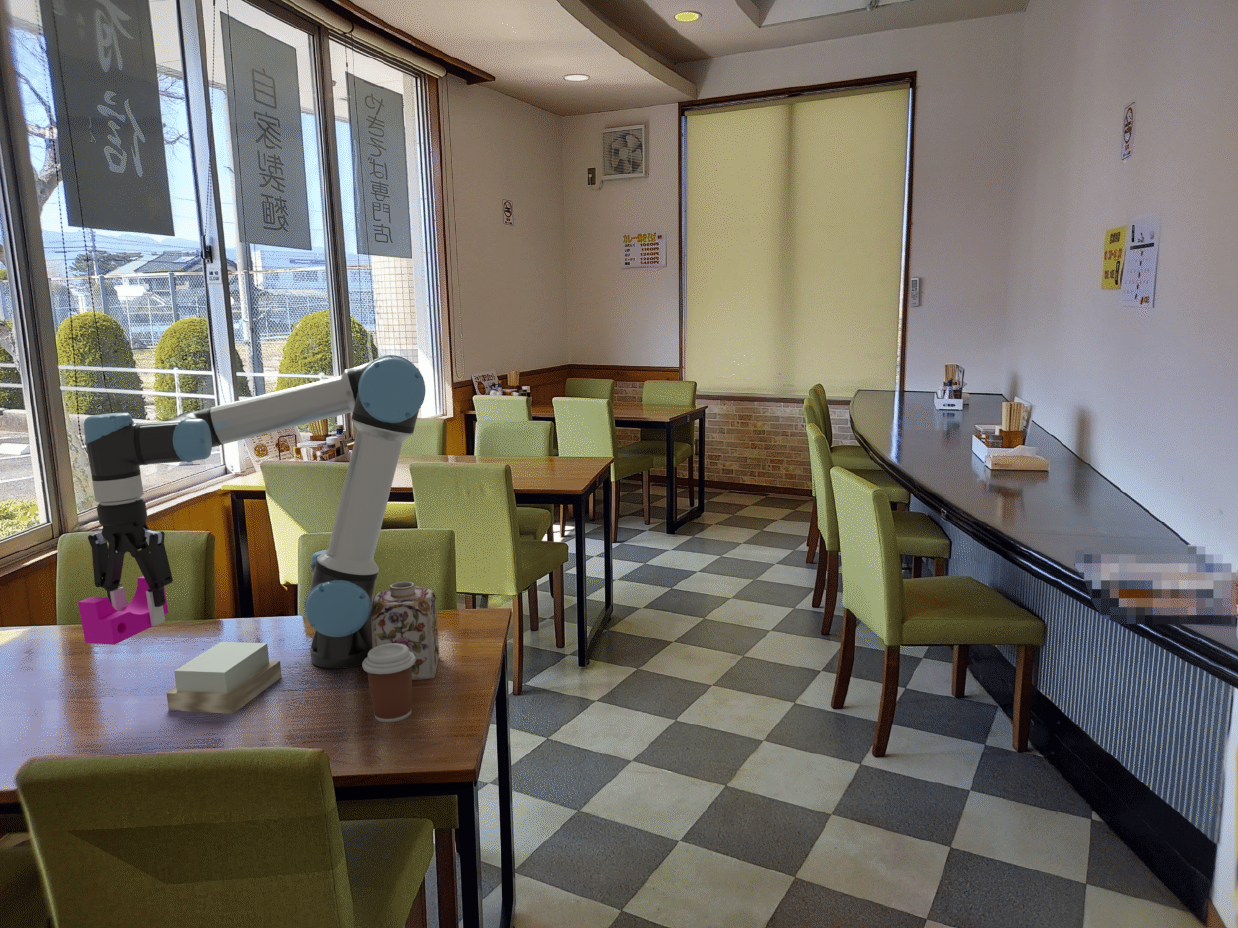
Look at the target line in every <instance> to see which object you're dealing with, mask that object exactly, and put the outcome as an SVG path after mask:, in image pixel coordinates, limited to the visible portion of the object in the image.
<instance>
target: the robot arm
mask: <svg viewBox="0 0 1238 928" xmlns="http://www.w3.org/2000/svg"><path fill="white" fill-rule="evenodd" d="M425 397H426V383H425V380H424V377H423V375H422V373H421V371H420V370H419V368H418V367H417V366H416V365H415V364H414V363H412V362H411V361H409V360H408V359H406V358H405V357H402V356H399V355H394V354H393V355H391V354H387V355H383V356H379V357H376V358H375V359H373V360H371V361H369V362H366V363H364V364H360V365H357V366H355V367H351V368H347V369H344V371H343V372H342V374H341V375H339V376H335V377H331V378H327V379H321V380H318V381H314V382H311V383H307V384H306V383H305V384H302V385H298V386H295V387H290V388H289V387H288V388H286V389H282V390H277V391H274V392H270V393H269V392H268V393H266V394H262V395H257V396H253V397H248V398H246V399H241V400H237V401H232V402H229V403H228V402H227V403H224V404H219V405H215V406H211V407H208V408H204V409H203V408H202V409H200V410H194V411H186V412H182V413H180V414H178V415H177V416H175V417H173V418H171V419H169V420H165V421H152V422H134V420H133V417H132V415H131V414H130V413H129V412H112V413H102V414H95V415H90V416H88V417H86V419H85V420H84V421H83V430H84V432H83V433H84V439H85V441H84V446H85V447H86V454H87V459H88V463H89V468H90V474H91V481H92V488H93V494H94V501H95V502H96V503H99V504H97V506H96V513H97V518H98V523H99V525H101V526H102V530H101V531H98V532H95V533H91V534H89V535H88V536H87V540H88V543H89V545H90V546H91V556H92V569H93V579H94V580H93V581H94V586H95V587H96V588H102V589H104V590H105V591H106V593H107V595H106V596H107V597H108V598H109V601H110V603H111V604H112V606H113V607H114V608H115V609H116V610H117V611H121V610H122V609H124V608H125V607H126V606H127V605H128V601H127V594H126V588H125V586H122V585H123V582H121V579H122V572H123V566H124V560H125V554H126V553H129V554H130V556H131V557H132V558H134V560H135V561H136V564H137V565H138V568H139V569H140V572H141V574H142V576H144V578H145V580H146V582H147V584H148V586H149V588H150V589H148V590H147V591H146V596H147V602H148V608H149V614H150V620H151V626H153V627H156V626H158V625H160V624H161V623H163V622H165V621H166V618H165V615H164V610H163V605H164V604H165V597H164V590H163V588H165V586H168V585H170V584H172V583H173V581H174V579H173V574H172V570H171V567H170V563H169V559H168V555H167V550H166V546H165V537H166V536H165V532H164V531H163V530H159V531H154V530H150V529H149V528H150V527H149V526H148V525H147V518H148V511H147V506H146V505H147V504H146V499H144V498H143V496H144V487H143V486H144V485H143V480H142V476H141V475H142V474H141V469H140V466H148V465H156V464H157V465H158V464H170V463H184V462H185V463H192V462H195V461H201V460H202V461H203V460H206V459H208V458H209V457H210V456H211V455H212V449H213V448H216V447H219V446H221V445H222V446H223V445H225V444H226V445H227V444H230V443H234V442H238V441H242V440H246V439H250V438H254V437H259V436H262V435H266V434H270V433H274V432H278V431H283V430H287V429H291V428H294V427H295V428H296V427H298V426H302V425H307V424H310V423H315V422H319V421H323V420H327V419H331V418H334V417H338V416H343V415H347V414H352V415H351V422H352V424H353V425H354V427H355V428H356V434H355V439H354V442H353V446H352V450H351V454H350V458H349V463H348V466H347V471H346V475H345V478H344V482H343V485H342V490H341V495H340V498H339V503H338V507H337V511H336V514H335V519H334V523H333V527H332V531H331V534H330V540H329V543H328V548H327V549H323V550H319V551H316V552H314V553H313V554H312V555H311V557H310V564H309V565H310V568H311V575H312V578H311V581H310V586H309V590H308V594H307V596H306V598H305V601H304V609H305V610H304V612H305V618H306V620H307V621H308V623H309V625H310V626H311V627H312V628H313V629H314V633H313V638H312V641H311V645H310V661H311V663H312V664H313V665H314V666H317V667H320V668H324V669H346V668H353V667H359V666H362V663H363V661H364V660H365V658H367V657H368V652H369V651H370V650H371V649H373V645H372V628H371V620H370V618H371V610H372V604H373V598H374V591H375V585H376V582H377V578H378V574H379V570H380V568H379V566H378V565H377V563H376V562H375V559H374V557H375V553H376V549H377V546H378V541H379V538H380V533H381V529H382V526H383V522H384V521H383V520H384V518H385V514H386V510H387V505H388V501H389V498H390V493H391V490H392V486H393V481H394V478H395V473H396V469H397V466H398V462H399V458H400V454H401V450H402V446H403V442H404V441H405V440H406V439H407V438H410V437H411V436H413V435H414V431H415V428H416V423H417V420H418V416H419V411H420V409H421V408H422V406H423V403H424V401H425ZM155 582H156V583H155Z"/></svg>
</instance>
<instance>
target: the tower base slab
mask: <svg viewBox="0 0 1238 928" xmlns="http://www.w3.org/2000/svg"><path fill="white" fill-rule="evenodd" d="M281 666H282V665H281V660H270V659H269V663H268V664H266V665H265V666H264V667H262V668H261V669H260V670H258V671H257V672H255V673H254V674H253V675H251V676H250V677H249V678H247V679H246V680H244V681H243V682H242V683H240V684H239V685H238V686H236V687H235V688H233V689H232V690H231V691H229V692H228V693H207V692H182V691H177V689H176V686H175V687H174V688H172V689H170V690H169V691H168V692H166V700H167V701H166V702H167V710H168V711H174V710H181V711H180V712H192V711H194V713H198V712H199V713H212V714H213V713H214V714H215V713H216V714H229V715H231V714H235V713H236V712H237V711H239V710H240V709H241V708H243V707H244V706H245V705H246V704H249V703H250V701H252V700H253V699H255V698H256V697H257V696H258V695H261V693H262V692H263V691H265V690H267V688H269V687H270V686H272V685H273V684H274V683H276V682H277V681H278V680H279V679H281V678H282V667H281ZM195 711H197V712H195Z"/></svg>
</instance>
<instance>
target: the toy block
mask: <svg viewBox="0 0 1238 928" xmlns="http://www.w3.org/2000/svg"><path fill="white" fill-rule="evenodd" d="M155 583H156V582H155ZM136 584H137V585H136V590H135V593H134V596H133V597H132V599H131V601H130V602H129V603H127V606H126V607H125V608H124V609H122V610H121V611H117V610H116V609H115V608H114V607H113V606H112V604H111V603H110V601H109V598H108V596H107V597H106V596H105V597H104V596H89V597H87V598H85V599H82V600H79V601H77V605H78V610H79V615H80V619H81V620H80V621H81V626H82V633H83V638H84V642H85V644H96V645H110V646H111V645H113V646H114V645H117V644H119V643H121V642H123V641H126V640H127V639H130V638H132V637H133V636H134V637H135V636H136V635H137V634H140V633H142V632H144V631H145V630H149V629H150V628H152V627H154V626H151V620H150V614H149V608H148V602H147V596H146V591H147V590H148V589H150V588H149V586H148V584H147V582H146V580H145V578H144V576H143V575H142V576H140V577H137V583H136ZM163 590H164V597H165V604H164V605H163V610H164V616H165V615H168V614H169V608H168V602H167V596H166V589H165V587H164V588H163Z"/></svg>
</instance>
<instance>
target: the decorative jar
mask: <svg viewBox="0 0 1238 928" xmlns="http://www.w3.org/2000/svg"><path fill="white" fill-rule="evenodd" d="M436 600H437V597H436V594H435V592H434V590H432V589H429V588H426V587H424V586H423V587H422V586H418V585H416V586H415V584H414V582H412V581H399V582H395V583H392V584H390V585H389V589H384V590H382V591H379V592H377V593H376V594H375V595H374V596H373V604H372V610H371V618H370V620H371V628H372V645H373V648H374V647H377V646H380V645H384V644H391V643H398V644H403V645H406V646H407V647H408V648H409V651H410V652H412V653H413V654H414V655H415V657H416V661H415V663H414V665H412V681H420V680H421V681H424V680H432V679H435V677H436V672H437V667H438V662H439V658H440V647H439V643H440V642H439V627H438V624H439V623H438V612H437V601H436Z"/></svg>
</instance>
